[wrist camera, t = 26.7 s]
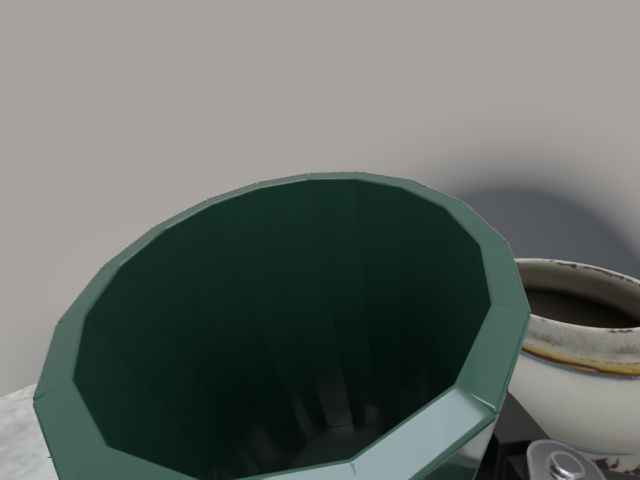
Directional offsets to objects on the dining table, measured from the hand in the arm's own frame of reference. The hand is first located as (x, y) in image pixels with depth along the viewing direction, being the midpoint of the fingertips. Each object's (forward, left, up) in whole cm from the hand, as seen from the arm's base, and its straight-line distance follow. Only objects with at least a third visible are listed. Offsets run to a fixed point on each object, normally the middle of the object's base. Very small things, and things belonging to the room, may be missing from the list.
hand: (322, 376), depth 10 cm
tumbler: (+1, 0, -7) cm, 7 cm away
